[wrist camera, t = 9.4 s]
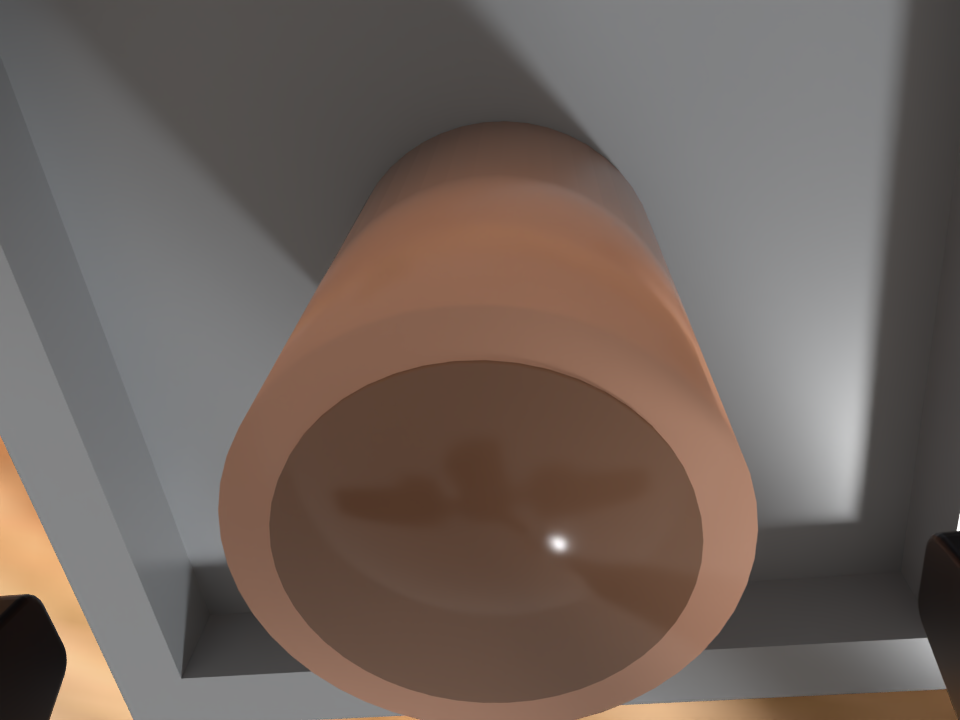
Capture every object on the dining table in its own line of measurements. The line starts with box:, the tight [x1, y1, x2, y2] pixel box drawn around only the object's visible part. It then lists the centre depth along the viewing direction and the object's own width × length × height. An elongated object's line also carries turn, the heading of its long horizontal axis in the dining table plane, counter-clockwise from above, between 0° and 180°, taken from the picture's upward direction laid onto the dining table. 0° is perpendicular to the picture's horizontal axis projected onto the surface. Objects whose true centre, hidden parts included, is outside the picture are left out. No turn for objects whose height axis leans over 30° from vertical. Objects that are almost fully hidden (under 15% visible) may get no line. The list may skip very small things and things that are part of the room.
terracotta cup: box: [218, 121, 758, 720], centre depth 13 cm, size 6×6×8 cm
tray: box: [0, 0, 960, 720], centre depth 16 cm, size 20×20×3 cm
